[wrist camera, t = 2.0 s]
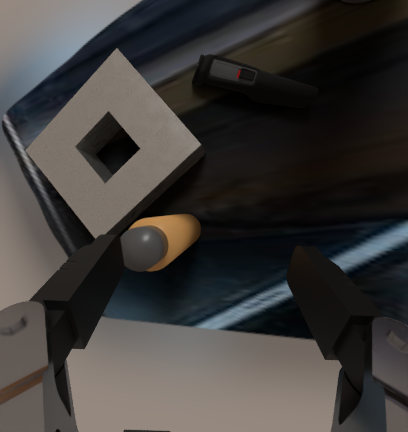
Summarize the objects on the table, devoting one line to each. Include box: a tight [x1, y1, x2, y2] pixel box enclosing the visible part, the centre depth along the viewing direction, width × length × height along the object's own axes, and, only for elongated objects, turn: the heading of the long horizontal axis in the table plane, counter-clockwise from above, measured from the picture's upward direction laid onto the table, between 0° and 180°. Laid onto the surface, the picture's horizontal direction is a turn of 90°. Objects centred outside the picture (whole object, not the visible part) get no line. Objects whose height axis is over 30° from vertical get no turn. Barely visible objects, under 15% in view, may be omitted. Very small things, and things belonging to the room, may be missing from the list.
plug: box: [120, 214, 201, 271], centre depth 21 cm, size 4×4×14 cm
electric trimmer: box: [192, 54, 319, 108], centre depth 25 cm, size 4×16×3 cm, turn 70°
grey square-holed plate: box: [26, 49, 206, 239], centre depth 27 cm, size 18×16×4 cm
